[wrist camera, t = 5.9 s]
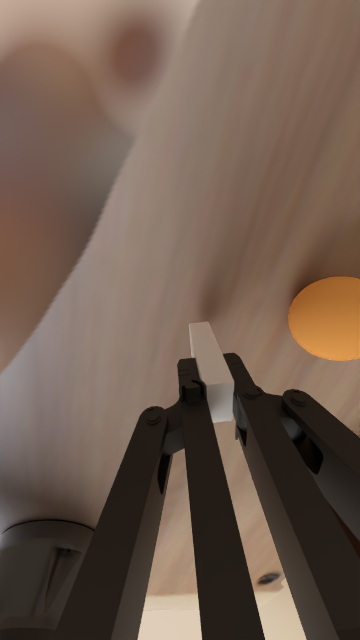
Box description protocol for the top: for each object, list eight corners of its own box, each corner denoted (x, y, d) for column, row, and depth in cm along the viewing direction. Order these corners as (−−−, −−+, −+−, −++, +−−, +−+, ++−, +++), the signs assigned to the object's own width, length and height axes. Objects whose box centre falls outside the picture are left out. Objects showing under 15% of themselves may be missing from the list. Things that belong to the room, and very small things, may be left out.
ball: (390, 349, 16) (301, 335, 20) (402, 267, 14) (303, 272, 18) (382, 389, 12) (275, 362, 16) (399, 284, 10) (274, 285, 14)
